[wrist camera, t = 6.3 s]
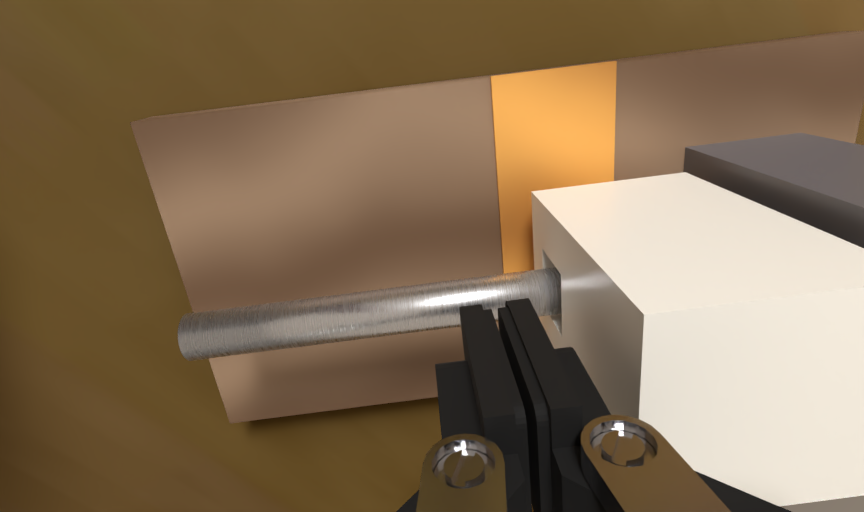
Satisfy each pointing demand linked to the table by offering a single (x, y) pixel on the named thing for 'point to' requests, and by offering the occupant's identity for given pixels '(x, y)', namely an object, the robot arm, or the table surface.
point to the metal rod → (360, 314)
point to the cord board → (443, 188)
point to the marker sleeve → (715, 328)
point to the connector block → (791, 178)
